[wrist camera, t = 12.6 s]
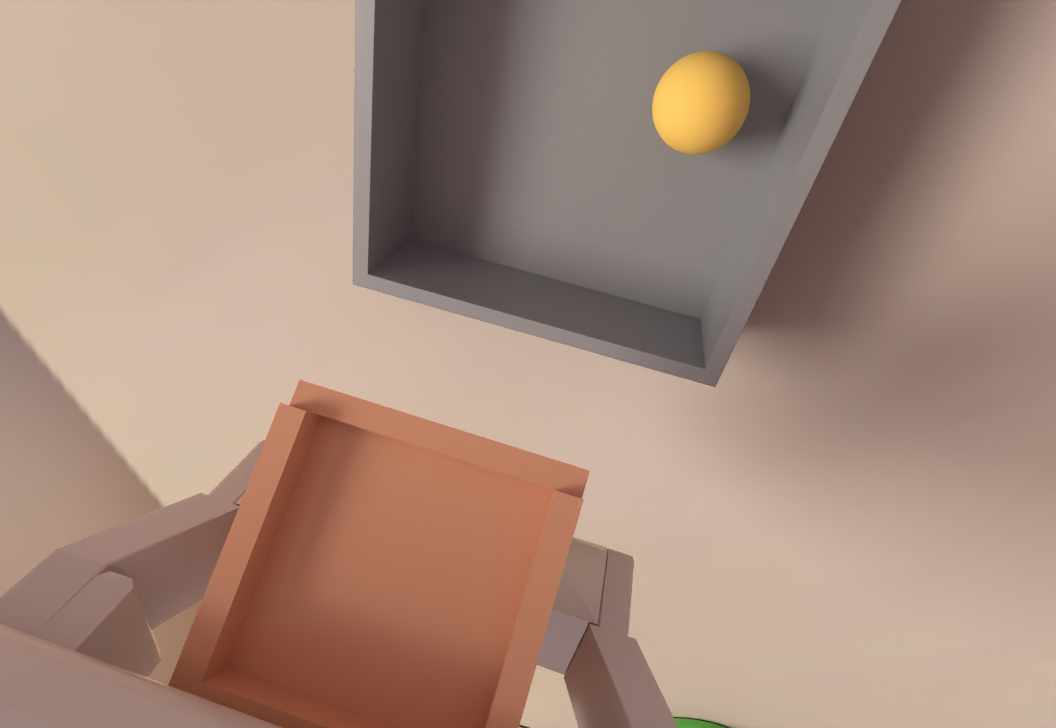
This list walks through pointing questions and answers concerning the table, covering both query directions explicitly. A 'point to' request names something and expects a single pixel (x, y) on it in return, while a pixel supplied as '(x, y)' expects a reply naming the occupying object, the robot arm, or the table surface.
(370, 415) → the square container
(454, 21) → the tray
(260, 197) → the table surface
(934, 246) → the table surface
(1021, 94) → the table surface
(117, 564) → the robot arm
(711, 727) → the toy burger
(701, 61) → the ball
